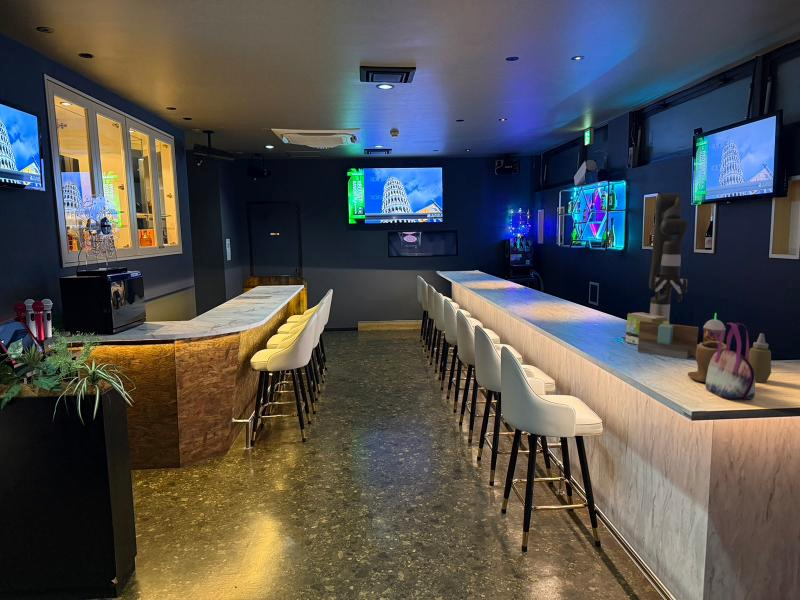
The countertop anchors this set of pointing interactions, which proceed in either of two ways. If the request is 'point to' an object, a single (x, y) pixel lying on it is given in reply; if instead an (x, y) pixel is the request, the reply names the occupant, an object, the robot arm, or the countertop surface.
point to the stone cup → (704, 359)
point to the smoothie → (713, 330)
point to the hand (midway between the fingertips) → (667, 300)
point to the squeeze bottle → (760, 359)
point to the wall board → (680, 348)
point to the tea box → (634, 324)
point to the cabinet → (665, 333)
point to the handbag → (731, 370)
